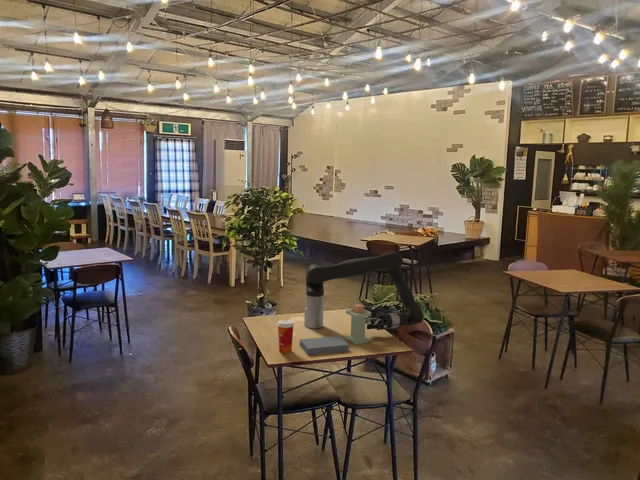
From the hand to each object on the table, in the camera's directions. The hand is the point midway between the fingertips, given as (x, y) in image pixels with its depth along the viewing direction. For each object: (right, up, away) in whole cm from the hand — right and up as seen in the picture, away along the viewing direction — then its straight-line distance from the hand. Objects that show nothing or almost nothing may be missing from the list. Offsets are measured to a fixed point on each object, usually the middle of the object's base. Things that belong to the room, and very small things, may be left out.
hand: (362, 324), depth 250 cm
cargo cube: (-2, +6, -2) cm, 7 cm away
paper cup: (-37, -9, -18) cm, 42 cm away
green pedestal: (-2, -8, 0) cm, 8 cm away
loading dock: (-19, -9, -13) cm, 25 cm away
